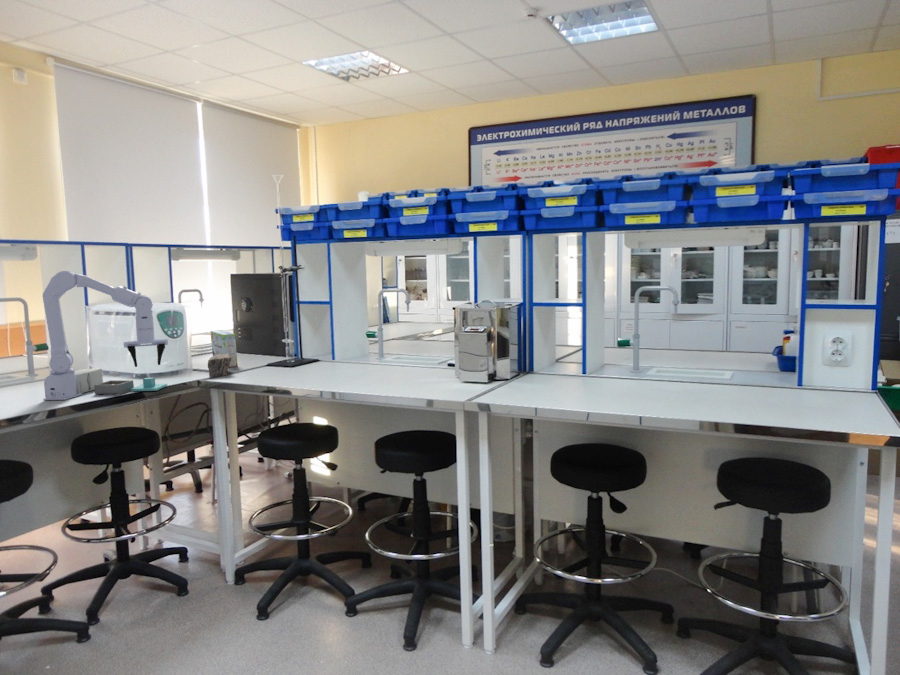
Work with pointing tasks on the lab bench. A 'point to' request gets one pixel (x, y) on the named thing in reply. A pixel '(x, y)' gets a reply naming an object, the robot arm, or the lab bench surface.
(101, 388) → the box
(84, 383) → the supplement box
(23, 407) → the lab bench surface
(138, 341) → the robot arm
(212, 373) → the stone block
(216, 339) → the snack box
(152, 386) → the lid
